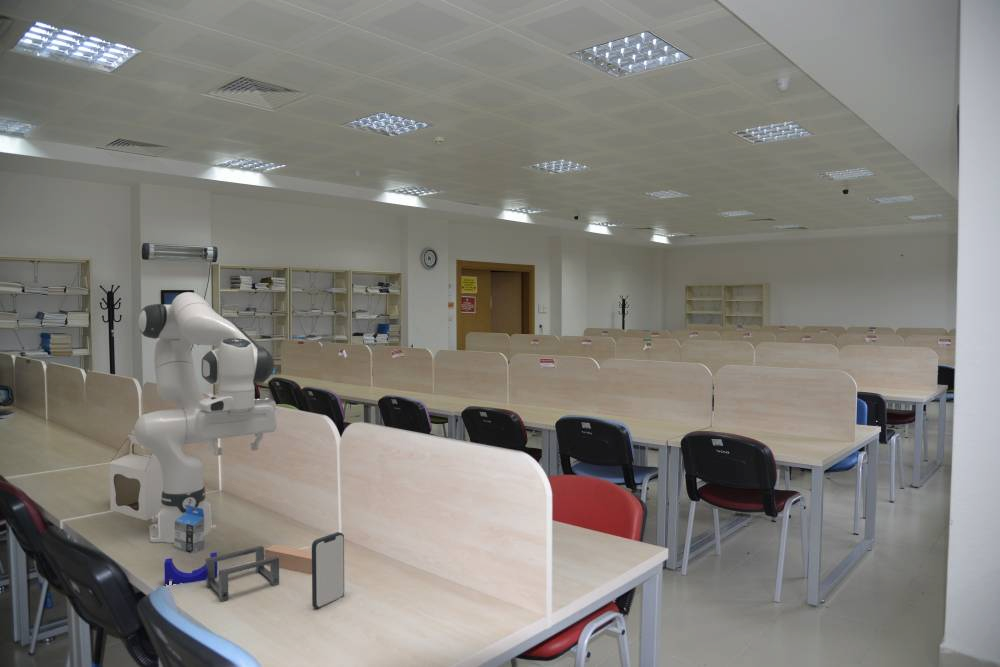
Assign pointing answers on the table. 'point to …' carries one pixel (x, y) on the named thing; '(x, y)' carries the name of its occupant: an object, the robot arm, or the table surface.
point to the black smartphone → (327, 569)
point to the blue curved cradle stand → (182, 577)
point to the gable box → (135, 480)
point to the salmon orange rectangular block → (291, 558)
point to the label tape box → (190, 530)
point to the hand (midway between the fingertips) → (236, 452)
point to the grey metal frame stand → (240, 569)
